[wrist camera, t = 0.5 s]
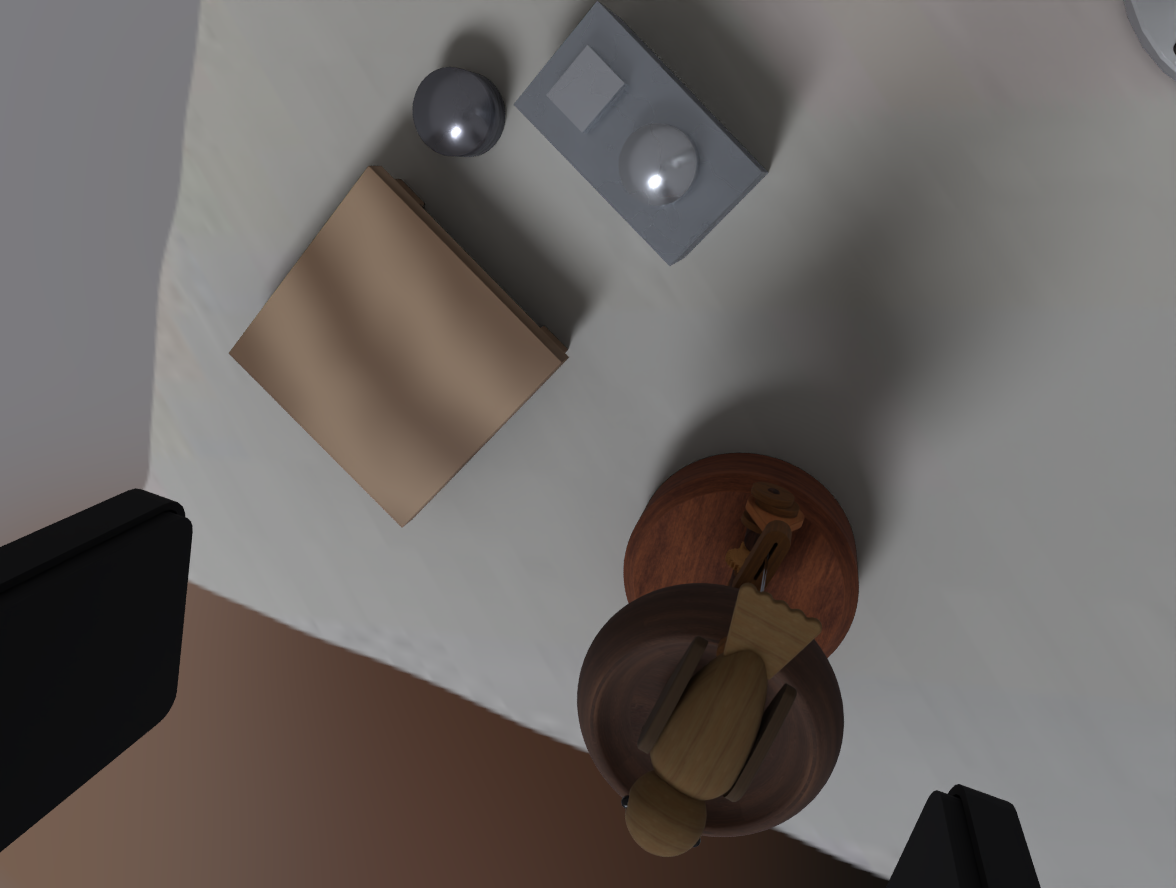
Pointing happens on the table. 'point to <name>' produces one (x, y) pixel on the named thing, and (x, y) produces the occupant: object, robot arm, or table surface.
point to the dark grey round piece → (458, 112)
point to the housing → (639, 135)
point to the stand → (395, 347)
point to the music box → (723, 653)
